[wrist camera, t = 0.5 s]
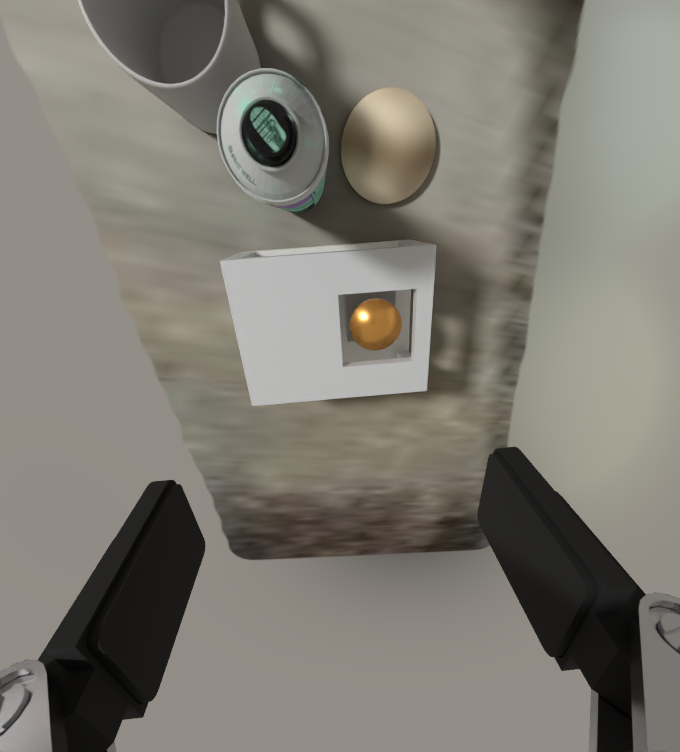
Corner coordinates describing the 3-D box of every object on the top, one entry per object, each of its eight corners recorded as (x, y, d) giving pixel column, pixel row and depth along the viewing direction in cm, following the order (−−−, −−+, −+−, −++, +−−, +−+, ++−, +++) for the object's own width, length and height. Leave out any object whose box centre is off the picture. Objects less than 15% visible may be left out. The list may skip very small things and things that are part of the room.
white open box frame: (242, 251, 33) (219, 260, 26) (410, 239, 34) (436, 244, 26) (264, 370, 40) (252, 405, 32) (406, 358, 40) (426, 390, 32)
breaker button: (345, 293, 32) (348, 302, 29) (393, 289, 33) (402, 298, 29) (348, 339, 35) (351, 352, 31) (393, 335, 35) (401, 348, 31)
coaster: (337, 93, 28) (338, 90, 28) (437, 86, 28) (439, 84, 28) (343, 207, 32) (344, 206, 32) (430, 200, 32) (432, 200, 32)
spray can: (275, 138, 29) (205, 7, 11) (331, 160, 30) (348, 72, 12) (263, 202, 31) (188, 177, 14) (315, 220, 32) (311, 220, 15)
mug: (265, 138, 29) (238, 97, 19) (170, 131, 29) (92, 84, 19) (256, -55, 24) (213, -247, 14) (140, -69, 23) (9, -280, 13)
